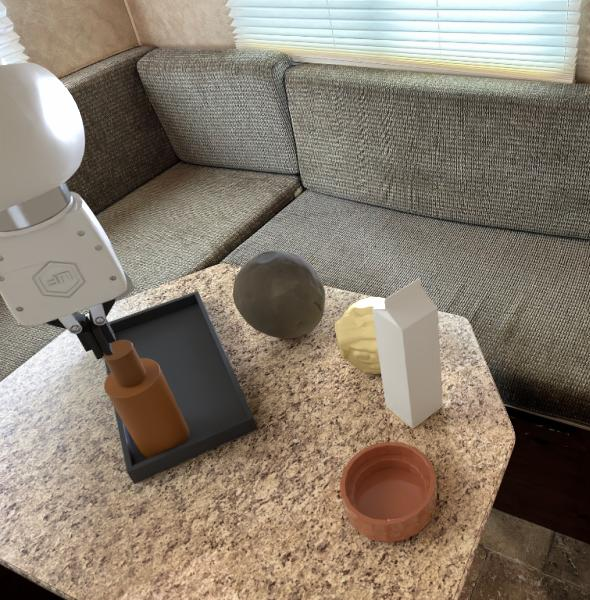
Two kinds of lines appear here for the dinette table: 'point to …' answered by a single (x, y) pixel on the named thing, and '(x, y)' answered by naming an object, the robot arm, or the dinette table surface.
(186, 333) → the tray
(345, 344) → the sculpture
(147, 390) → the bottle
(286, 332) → the dark grey rock
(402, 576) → the dinette table surface
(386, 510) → the bowl
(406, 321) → the milk
